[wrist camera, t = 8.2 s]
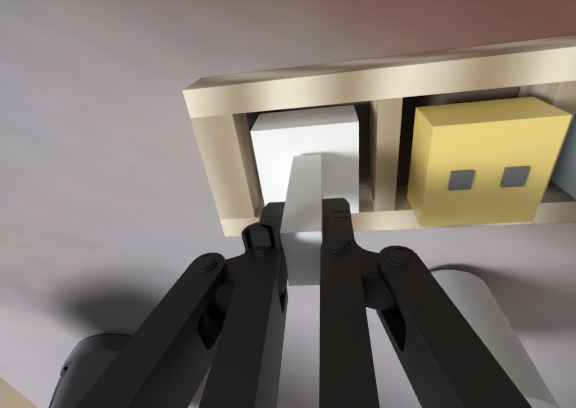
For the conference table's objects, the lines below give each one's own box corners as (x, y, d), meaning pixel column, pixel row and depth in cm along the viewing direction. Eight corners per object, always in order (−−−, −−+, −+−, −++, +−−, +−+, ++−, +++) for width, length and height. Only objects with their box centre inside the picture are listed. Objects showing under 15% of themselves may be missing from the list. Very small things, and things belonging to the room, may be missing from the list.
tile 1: (273, 192, 22) (266, 219, 19) (259, 113, 19) (249, 132, 16) (354, 187, 21) (359, 214, 19) (353, 104, 18) (359, 123, 16)
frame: (234, 212, 24) (225, 236, 22) (200, 78, 19) (182, 90, 17) (679, 188, 20) (729, 215, 18) (793, 9, 15) (887, 12, 13)
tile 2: (407, 197, 19) (420, 228, 17) (415, 107, 16) (434, 128, 14) (504, 191, 19) (534, 223, 16) (532, 96, 16) (575, 116, 13)
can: (450, 328, 30) (516, 493, 20) (379, 307, 29) (410, 467, 19) (505, 277, 26) (622, 453, 16) (424, 251, 25) (493, 418, 15)
